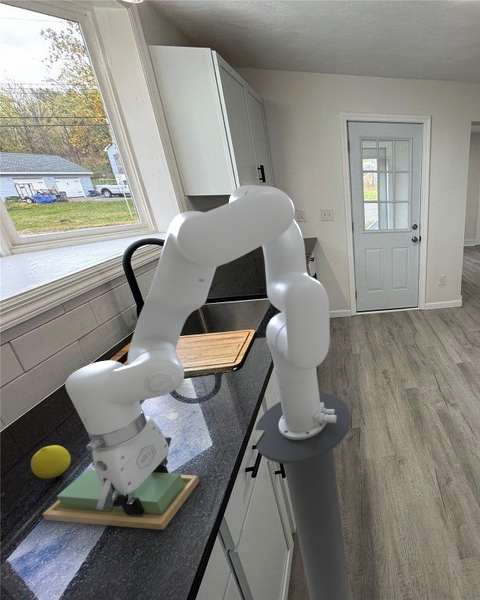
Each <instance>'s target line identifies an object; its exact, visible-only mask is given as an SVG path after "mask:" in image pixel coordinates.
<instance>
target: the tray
mask: <svg viewBox="0 0 480 600" xmlns="http://www.w3.org/2000/svg"><path fill="white" fill-rule="evenodd" d="M92 470H96V469H95V467H94V468H93V469H92ZM180 475H181V478H182V480H183V483H184V485H185V486H184V487H183V488H182V490H181V491H180V492H179V494H178V495H177V496H176V497H175V499H174V500H173V501H172V503H171V504H170V505H169V507H168V508H167V509H166V510H165V512H164V513H163V514H150V513H143V514H142V515H132V516H130V515H127V514H125V512H124V511H114V509H113V510H112V511H111V512H102V511H90V510H78V509H66V508H63V506H62V504H61V503H60V501H59V499H57V500H56V501H55V502H54V503H53V504H52V505H51V506H50V507H48V508H47V509H46V510H45V511H44V512H43V513H42V516H43V517H44V519H45V520H46V521H55V522H67V523H78V524H79V523H80V524H88V525H101V526H114V527H124V528H125V527H126V528H136V529H147V530H158V531H159V530H161V531H164V530H165V528H166V527H167V526H168V524H169V523H170V522H171V520H172V519H173V518H174V516H175V515H176V514H177V512H178V511H179V510H180V509H181V507H182V506H183V504H185V501H186V500H187V499H188V498H189V496H190V495H191V493H192V492H193V491H194V489H195V488H196V487H197V485H199V483H200V479H199V476H198V475H191V474H180Z"/></svg>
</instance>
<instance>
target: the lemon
mask: <svg viewBox="0 0 480 600" xmlns="http://www.w3.org/2000/svg"><path fill="white" fill-rule="evenodd" d="M71 459H72V457H71V454H70V452H69V451H68V449H66V448H65V447H64V446H61V445H58V444H57V445H56V444H51V445H47V446H44V447H42V448H40V449H39V450H38V451H37V452H35V454H34V455H33V456H32V458H31V460H30V468H31V471H32V473H33V474H34V475H35V476H36V477H38V478H40V479H53V478H56V477H60V476H61V475H62V474H63V473H65V472H66V471H67V470H68V468H69V467H70V465H71Z"/></svg>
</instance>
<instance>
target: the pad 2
mask: <svg viewBox="0 0 480 600" xmlns="http://www.w3.org/2000/svg"><path fill="white" fill-rule="evenodd" d="M181 475H182V474H180V473H173V472H169V473H158V472H152V473H151V474H150V475H149V476H148V477H147V478H146V479H145V480H144V482H143V483H142V484H141V485H140V486H139V487H138V488H137V489H136V490H135V497H137V498H139V499H140V503H141V505H142V507H143V509H144V513H150V514H163V513H164V512H165V510H166V509H167V508H168V507H169V505H170V504H171V503H172V501H173V500H174V499H175V497H176V496H177V495H178V494H179V492H180V491H181V490H182V488H183V487H184V486H185V485H184V483H183V480H182V478H181ZM124 495H126V494H124ZM112 498H115V492H114V493H113V496H112ZM113 509H114V511H124V510H123V508H122V506H118V507H113Z"/></svg>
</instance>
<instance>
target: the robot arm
mask: <svg viewBox="0 0 480 600" xmlns="http://www.w3.org/2000/svg"><path fill="white" fill-rule="evenodd" d="M295 211H296V210H295V206H294V203H293V201H292V199H291V198H290V197H289V196H288V194H287V193H285V192H284V191H283V190H282V189H279V188H277V187H274V186H269V185H259V184H244V185H241V186H238V187H237V188H235V189H234V190H233V191H232V192H231V194H230V196H229V202H228V203H225V204H223V205H220V206H218V207H215V208H213V209H211V210H207V211H205V212H204V211H200V210H199V211H198V210H189V211H184V212H180V213H179V214H178V215H176V216H175V217H174V218H173V220H172V222H171V223H170V225H169V228H168V230H167V233H166V237H165V240H164V243H163V247H162V249H161V253H160V257H159V260H158V264H157V267H156V270H155V273H154V276H153V279H152V282H151V286H150V288H149V290H148V294H147V296H146V298H145V302H144V304H143V306H142V309H141V311H140V314H139V316H138V319H137V322H136V325H135V328H134V331H133V335H132V338H131V340H130V344H129V348H128V352H127V365H124V364H123V363H122V362H119V361H118V360H103V361H98V362H93V363H90V364H88V365H85V366H83V367H81V368H79V369H76V370H75V371H73V372H72V373H71V374H70V375H69V376H68V377H67V379H66V380H65V384H64V386H65V390H66V392H67V394H68V396H69V398H70V400H71V402H72V404H73V406H74V408H75V410H76V412H77V414H78V416H79V418H80V420H81V422H82V424H83V426H84V428H85V431H86V432H87V434H88V435H87V436H88V438H89V440H90V441H89V443H87V444H86V445H85V450H87V451H88V452H91V454H92V455H91V456H92V461H93V464H94V468H95V469H96V472H97V475H98V478H99V480H100V482H101V485H102V486H103V489H102V492H101V495H100V498H99V501H98V503H97V506H96V509H101V510H105V509H109V508H112V507H118V506H122V508H123V510H124V512H125V514H127V515H130V516H132V515H142V514H143V513H144V509H143V507H142V505H141V503H140V499H139V498H137V497H135V490H136V489H137V488H138V487H139V486H140V485H141V484H142V483H143V482H144V480H145V479H146V478H147V477H148V476H149V475H150V474H151V473H152V472H158V473H170V472H169V469H168V467H167V465H168V463H169V460H168V459H167V458H168V456H169V452H170V445H171V442H172V437H171V436H164V433H163V432H162V430H161V429H160V426H159V425H158V424H157V423H156V422H155V420H153V418H152V417H151V416H150V415H145V412H144V410H143V407H142V405H141V402H140V401H145V400H150V399H155V398H156V399H157V398H159V397H163V396H166V395H168V394H171V393H173V392H174V391H176V390H177V389H178V388H179V387H180V386H181V385H182V383H183V382H184V379H185V369H184V366H183V364H182V361H181V360H180V359H181V358H180V357H179V356H178V352H177V347H178V343H179V341H180V336H181V333H182V330H183V327H184V325H185V323H186V321H187V319H188V317H189V316H191V314H192V313H193V312H194V311H196V310H199V309H200V308H201V307H203V306H204V305H205V304H206V302H207V298H208V295H209V292H210V288H211V285H212V283H213V280H214V276H215V273H216V269H217V268H218V267H220V266H222V265H226V264H228V263H230V262H233V261H234V260H237V259H239V258H241V257H243V256H245V255H246V254H249V253H250V252H253V251H254V250H256V249H258V248H260V247H262V251H263V259H264V268H265V270H264V271H265V282H266V283H265V284H266V295H267V298H268V301H269V302H270V304H271V305H272V306H273V307H275V308H276V309H277V310H278V311H280V312H279V313H277V314H275V315H274V316H273V317H272V318H271V319H270V320H269V322H268V323H267V326H266V330H265V337H266V342H267V346H268V349H269V353H270V355H271V358H272V359H271V360H272V362H273V367H274V372H275V377H276V382H277V388H278V394H279V399H280V400H279V401H281V405H282V411H283V416H282V417H281V419H280V421H279V431H280V433H281V434H282V435H283V436H284V437H286V438H288V439H292V440H302V439H306V438H310V437H312V436H314V435H316V434H317V433H319V432H320V431H321V430H322V429H323V428H324V427H325V425H326V424H327V422H329V423H336V420H337V416H336V415H334V412H335V410H334V409H326V408H324V403H323V402H320V397H319V392H320V389H319V382H318V373H317V367H318V366H320V365H321V363H323V361H324V360H325V359H326V358H327V355H328V353H329V350H330V342H331V341H330V340H331V331H330V330H331V329H330V328H331V327H330V320H331V319H330V317H331V316H330V300H329V296H328V292H327V290H326V288H325V287H324V286H323V284H322V283H321V282H320V281H318V280H317V279H316V278H313V277H312V276H310V275H309V274H308V273H309V272H308V269H307V268H308V267H307V257H306V256H307V255H306V247H305V246H306V245H305V241H304V237H303V234H302V232H301V229H300V227H299V225H298V223H297V222H296V220H295V214H296V213H295ZM328 414H329V415H328ZM114 490H115V498H112V496H113V493H114ZM124 494H126V495H124Z"/></svg>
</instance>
